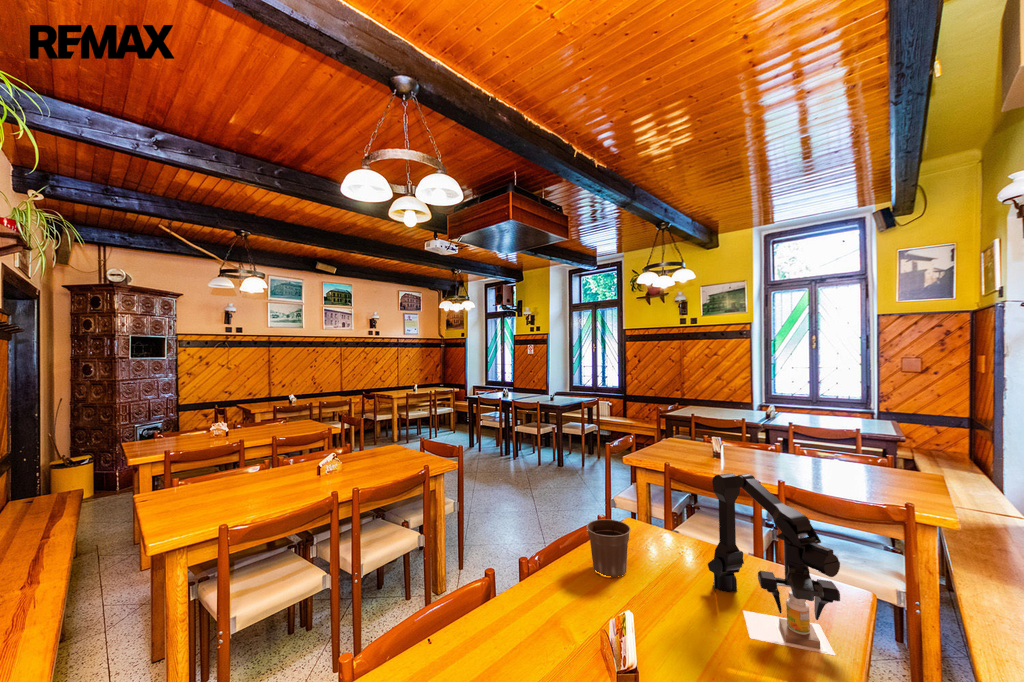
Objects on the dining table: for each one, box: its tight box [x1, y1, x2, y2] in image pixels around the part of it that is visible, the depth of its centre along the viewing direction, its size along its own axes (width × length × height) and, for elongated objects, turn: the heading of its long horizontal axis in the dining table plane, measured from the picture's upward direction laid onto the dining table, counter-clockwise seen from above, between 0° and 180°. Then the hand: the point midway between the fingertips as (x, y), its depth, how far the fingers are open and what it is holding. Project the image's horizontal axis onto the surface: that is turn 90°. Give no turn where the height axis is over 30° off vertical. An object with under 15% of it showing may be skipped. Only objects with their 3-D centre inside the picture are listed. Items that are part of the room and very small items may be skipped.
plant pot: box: [586, 518, 631, 578], centre depth 160 cm, size 16×16×16 cm
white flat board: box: [742, 610, 836, 657], centre depth 122 cm, size 20×14×1 cm
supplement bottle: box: [785, 590, 811, 635], centre depth 120 cm, size 5×5×10 cm
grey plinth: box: [779, 618, 820, 649], centre depth 119 cm, size 8×8×2 cm
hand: (798, 615), depth 120 cm, fingers open, 8 cm apart
